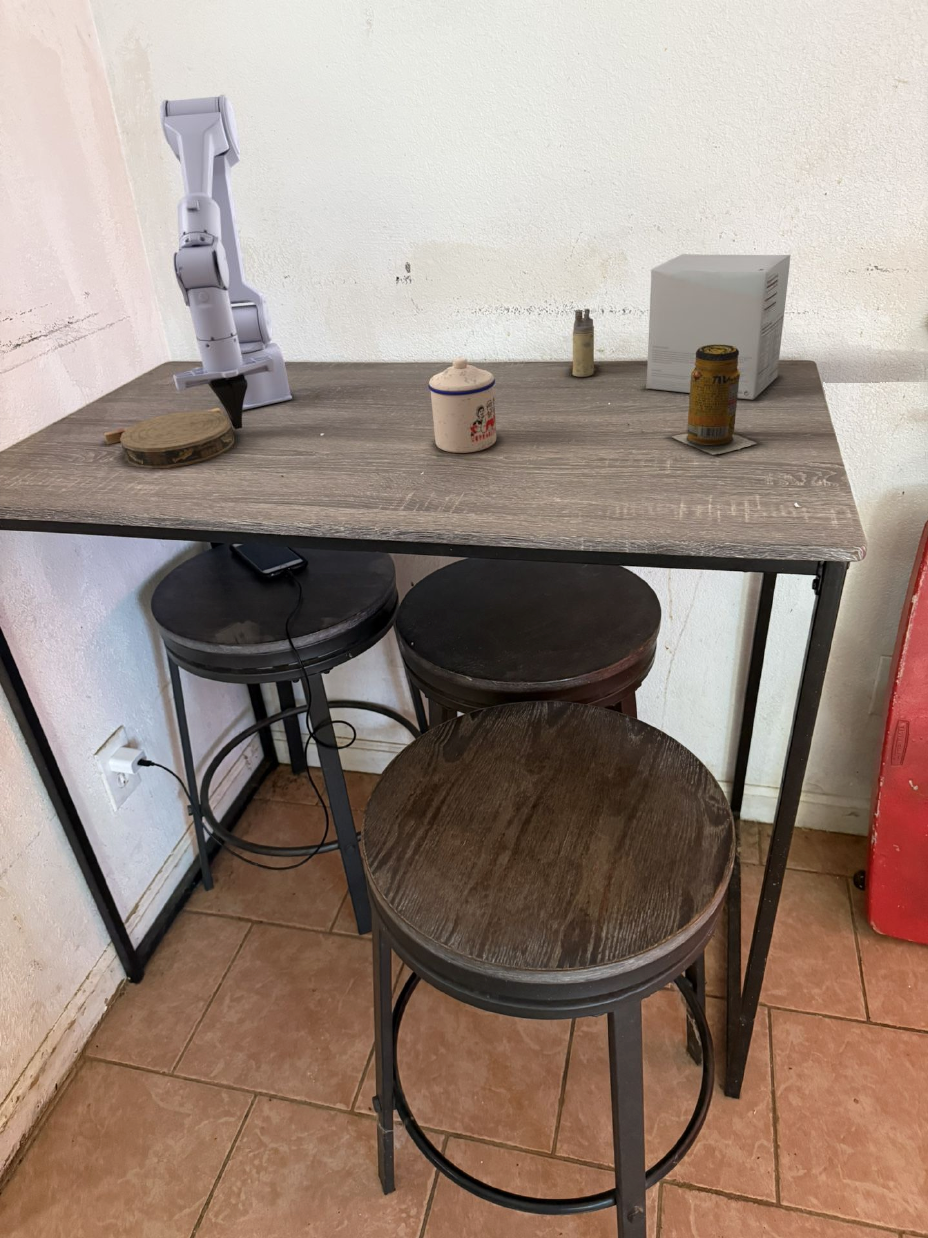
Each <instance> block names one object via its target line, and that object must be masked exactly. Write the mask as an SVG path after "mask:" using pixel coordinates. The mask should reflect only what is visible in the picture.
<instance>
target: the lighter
mask: <svg viewBox="0 0 928 1238" xmlns="http://www.w3.org/2000/svg"><path fill="white" fill-rule="evenodd" d="M590 314H591V310H590V309H589V308H588V307H587V308H586V309H584V313H583V310H582V309H577V310H575V311H574V323H573V329H572V376H575V377H578V378H579V377H580V378H582V377H591V376H593V375H594V372H595V371H596V370H597V369H596V368H595V351H594V350H595V325H594V319H593V318H591V316H590Z"/></svg>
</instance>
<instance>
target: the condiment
mask: <svg viewBox="0 0 928 1238" xmlns="http://www.w3.org/2000/svg"><path fill="white" fill-rule="evenodd" d="M738 355H739V351H738V349H737V348H736V347H733V346H730V345H720V344H714V345H706V346H702V347H700V348H699V349H698V350H697V351H696V361H695V366H696V367H695V368H694V370H693V371H692V374H691V382H690V393H689V396H688V397H689V399H688V400H689V401H688V412H687V425H686V426H687V427H686V433H681V434H676V435H673V436H671V438H673V439H674V440H677V441H679V442H682V443H683V444H685V445H688V446H690V447H695V448H696V449H697V450H700V451H703V452H705V453H708V454H710V455H713V456H714V455H720V454H725V453H730V452H733V451H736V450H738V451H739V450H741V449H743V448H746V447H751V446H753V445H756V444H757V442H755V441H753V440H750V439H748V438H746V437H742V435H741V436H740V435H738V434H735V424H736V414H737V407H738V406H737V405H738V399H739V398H738V388H739V378H740V373H739V370H738V369H737V366H738Z"/></svg>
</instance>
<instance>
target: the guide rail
mask: <svg viewBox="0 0 928 1238" xmlns="http://www.w3.org/2000/svg"><path fill="white" fill-rule="evenodd" d="M205 411H215V412H219V413H222V410H221V408H219V407H216V408H215V407H214V408H211V409H207V410H205ZM130 427H131V426H128V427H125V428H119V429H116V430H111V431H107V432H104V433H103V435H104V437H105V441H106V444H107V445H112V444H117V443H121V441H120V438H121V435H122V433H123V432H125V431H126V430H127V429H128V428H130Z"/></svg>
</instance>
